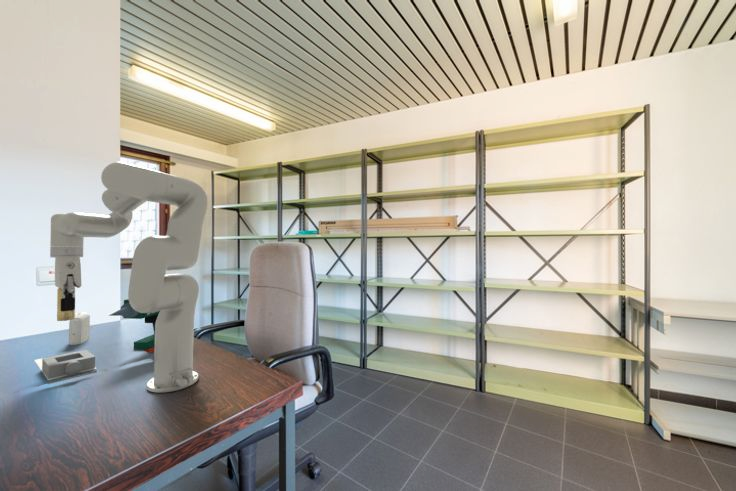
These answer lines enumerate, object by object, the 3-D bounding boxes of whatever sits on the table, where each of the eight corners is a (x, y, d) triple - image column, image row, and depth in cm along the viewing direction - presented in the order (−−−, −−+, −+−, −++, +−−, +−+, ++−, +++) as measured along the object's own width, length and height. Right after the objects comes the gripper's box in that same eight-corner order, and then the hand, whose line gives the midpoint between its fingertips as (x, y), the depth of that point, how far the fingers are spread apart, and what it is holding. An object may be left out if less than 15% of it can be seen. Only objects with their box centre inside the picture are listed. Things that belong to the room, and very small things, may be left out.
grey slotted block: (97, 373, 92) (97, 357, 92) (48, 385, 84) (49, 368, 84) (77, 354, 107) (77, 341, 107) (33, 363, 99) (34, 349, 99)
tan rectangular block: (75, 319, 97) (76, 288, 97) (58, 321, 93) (58, 289, 94) (73, 317, 99) (73, 287, 99) (55, 319, 96) (56, 288, 96)
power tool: (118, 368, 97) (120, 305, 97) (96, 367, 97) (98, 305, 97) (181, 338, 129) (183, 291, 129) (165, 337, 129) (166, 291, 129)
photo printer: (81, 347, 115) (82, 314, 115) (66, 348, 113) (67, 315, 113) (91, 339, 124) (91, 309, 124) (77, 340, 122) (78, 310, 122)
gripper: (89, 253, 95) (88, 311, 94) (77, 252, 104) (76, 305, 104) (55, 253, 89) (54, 315, 88) (45, 252, 98) (44, 308, 98)
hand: (66, 309), depth 96 cm, fingers closed on tan rectangular block, 4 cm apart
